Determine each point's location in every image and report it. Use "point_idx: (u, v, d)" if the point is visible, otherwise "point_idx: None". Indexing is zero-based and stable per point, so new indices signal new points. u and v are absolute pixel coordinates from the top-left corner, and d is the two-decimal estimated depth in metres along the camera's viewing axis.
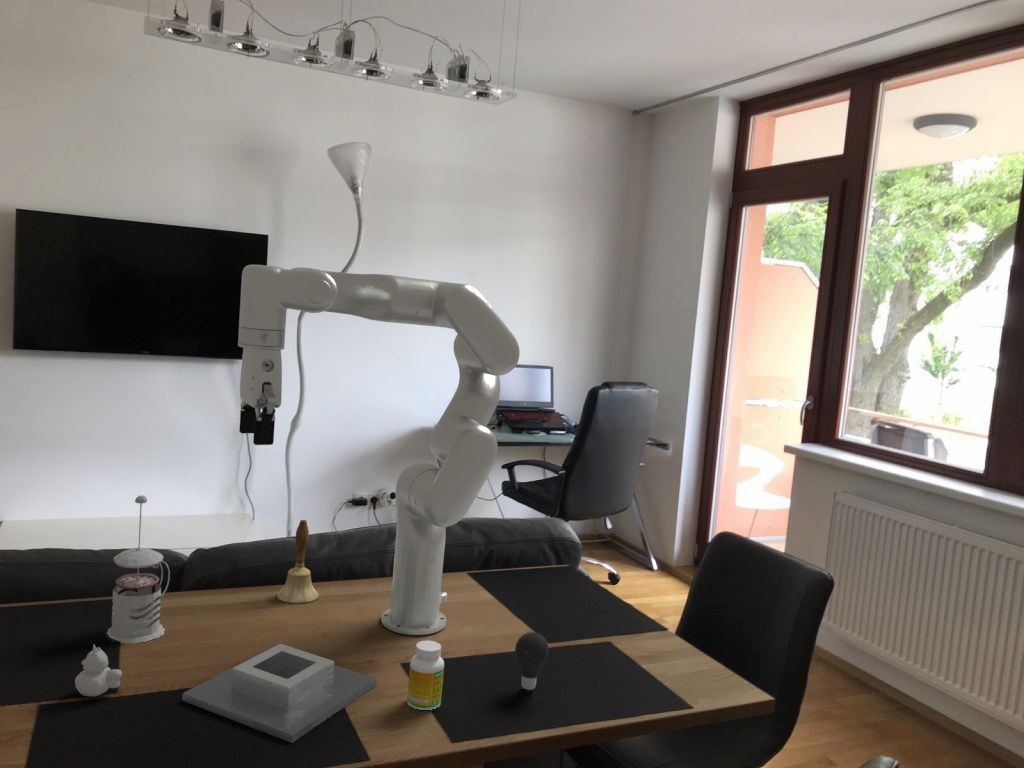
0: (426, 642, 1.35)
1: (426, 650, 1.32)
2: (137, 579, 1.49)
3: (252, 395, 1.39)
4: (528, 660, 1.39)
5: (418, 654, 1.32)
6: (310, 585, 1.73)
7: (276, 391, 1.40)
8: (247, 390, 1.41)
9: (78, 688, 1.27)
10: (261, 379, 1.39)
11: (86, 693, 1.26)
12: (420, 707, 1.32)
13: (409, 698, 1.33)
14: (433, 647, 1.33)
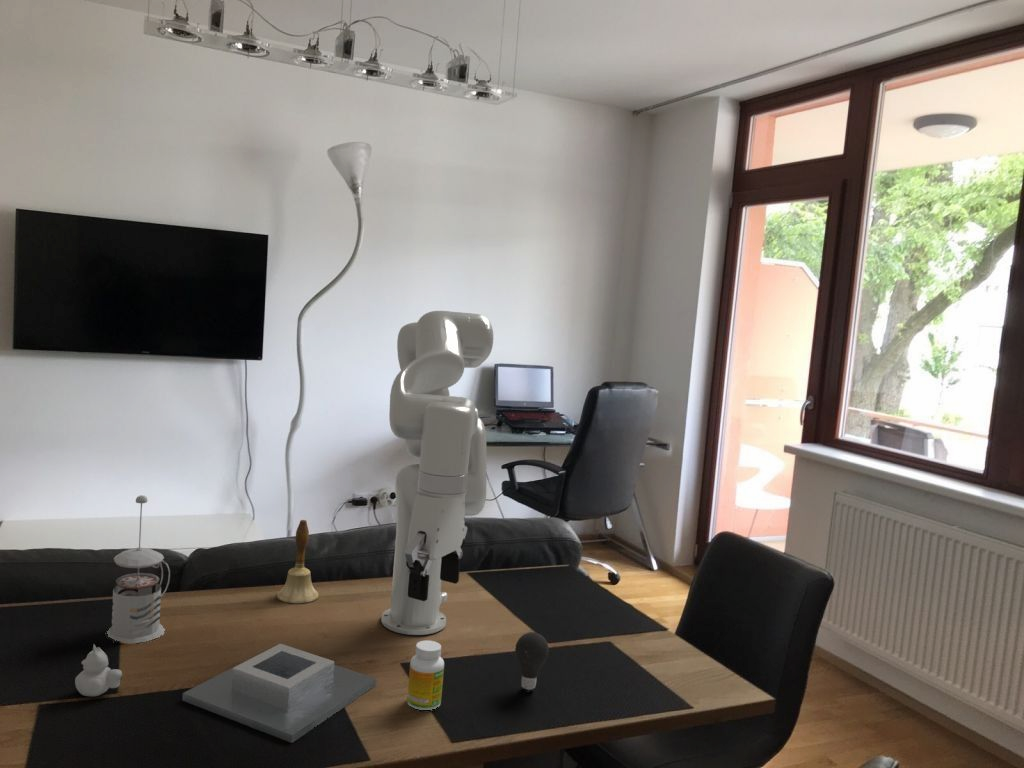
0: (426, 642, 1.35)
1: (426, 650, 1.32)
2: (137, 579, 1.49)
3: (462, 536, 1.34)
4: (528, 660, 1.39)
5: (418, 654, 1.32)
6: (310, 585, 1.73)
7: None
8: (456, 537, 1.32)
9: (78, 688, 1.27)
10: None
11: (86, 693, 1.26)
12: (420, 707, 1.32)
13: (409, 698, 1.33)
14: (433, 647, 1.33)
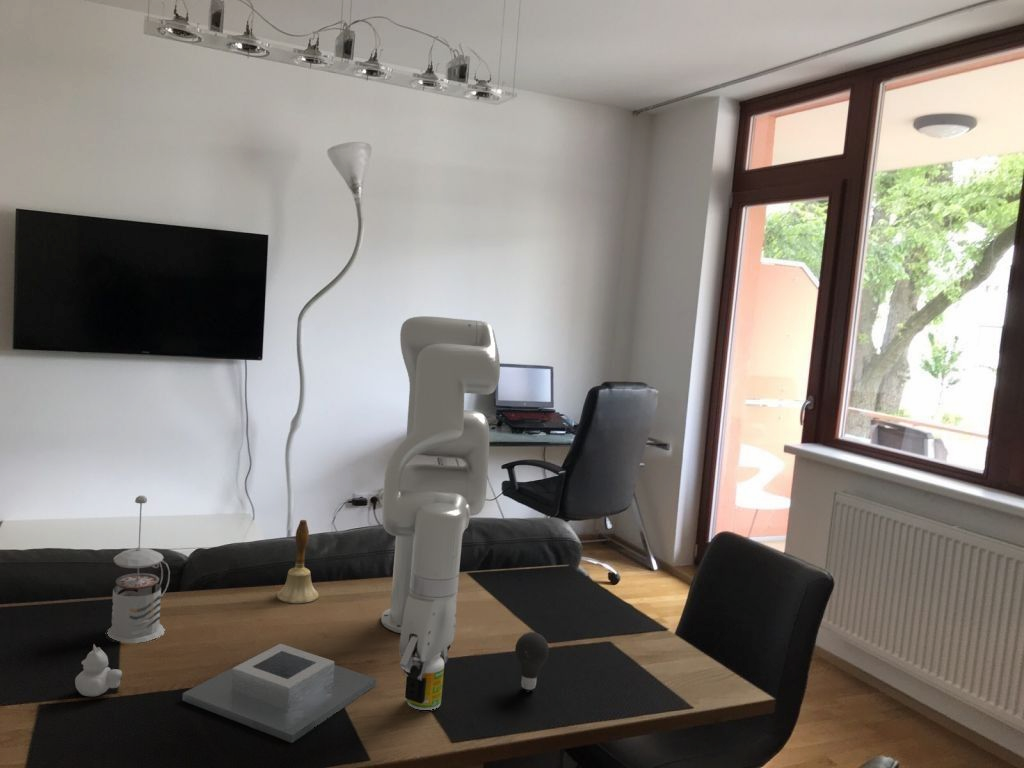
0: None
1: None
2: (137, 579, 1.49)
3: (454, 632, 1.36)
4: (528, 660, 1.39)
5: (418, 654, 1.32)
6: (310, 585, 1.73)
7: None
8: (447, 635, 1.34)
9: (78, 688, 1.27)
10: None
11: (86, 693, 1.26)
12: (420, 707, 1.32)
13: None
14: None
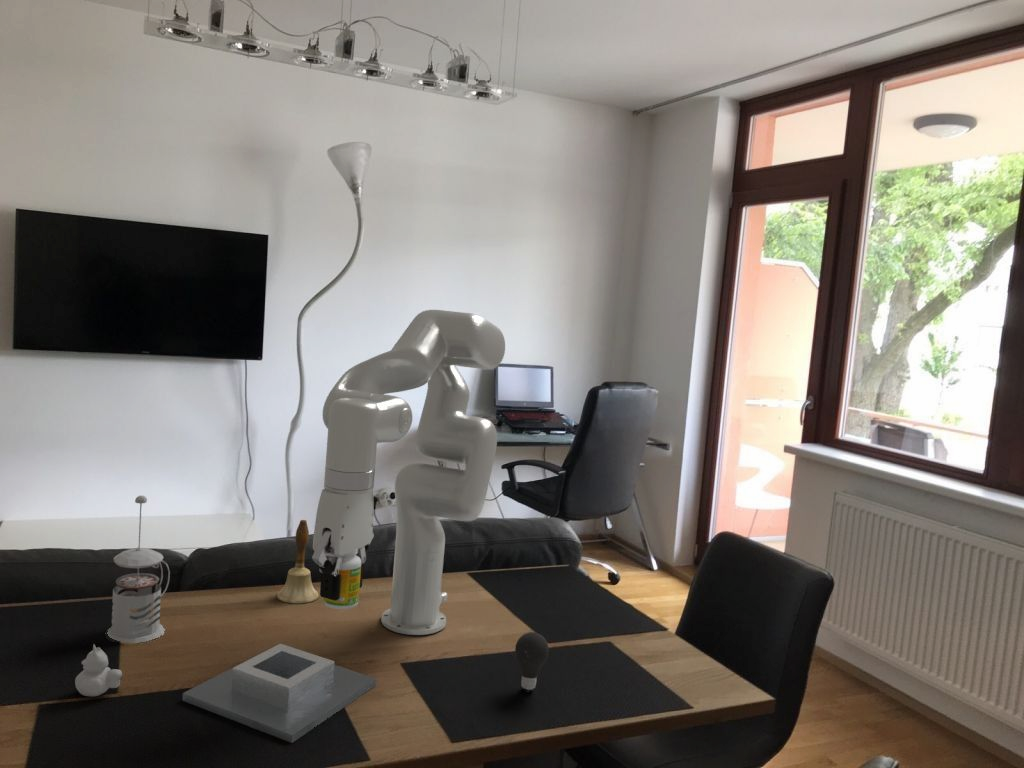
0: None
1: None
2: (137, 579, 1.49)
3: (371, 531, 1.34)
4: (528, 660, 1.39)
5: None
6: (310, 585, 1.73)
7: None
8: (364, 533, 1.32)
9: (78, 688, 1.27)
10: None
11: (86, 693, 1.26)
12: (336, 605, 1.30)
13: None
14: None
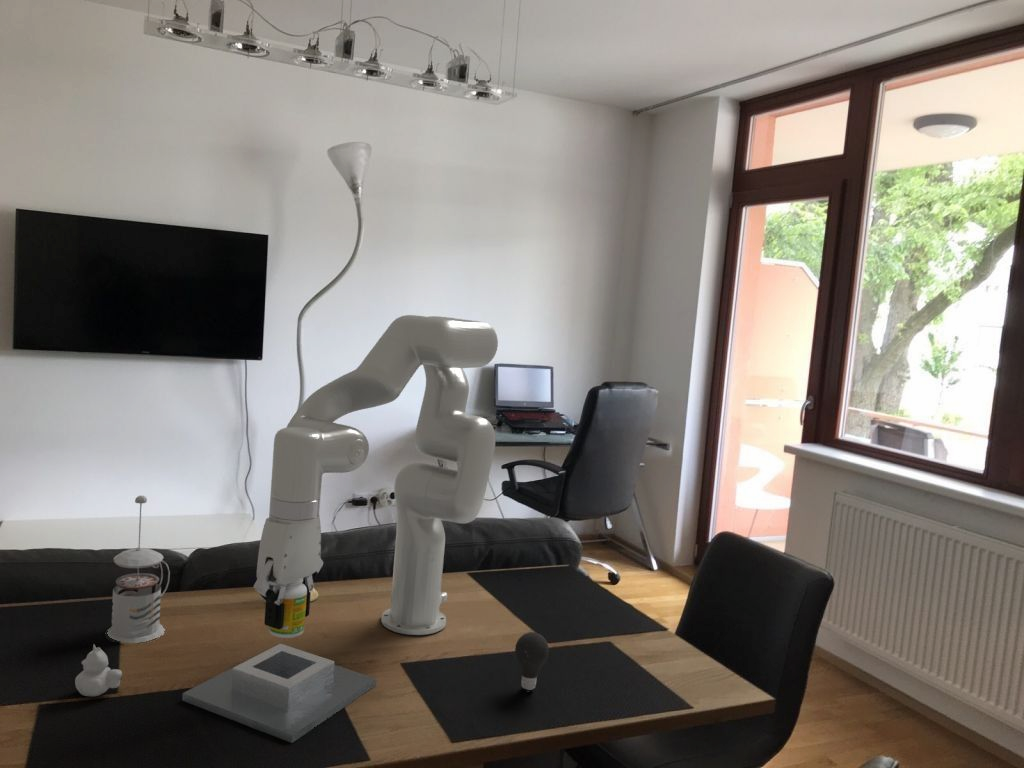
0: None
1: None
2: (137, 579, 1.49)
3: (318, 560, 1.34)
4: (528, 660, 1.39)
5: None
6: None
7: None
8: (310, 561, 1.32)
9: (78, 688, 1.27)
10: None
11: (86, 693, 1.26)
12: (280, 634, 1.30)
13: None
14: None
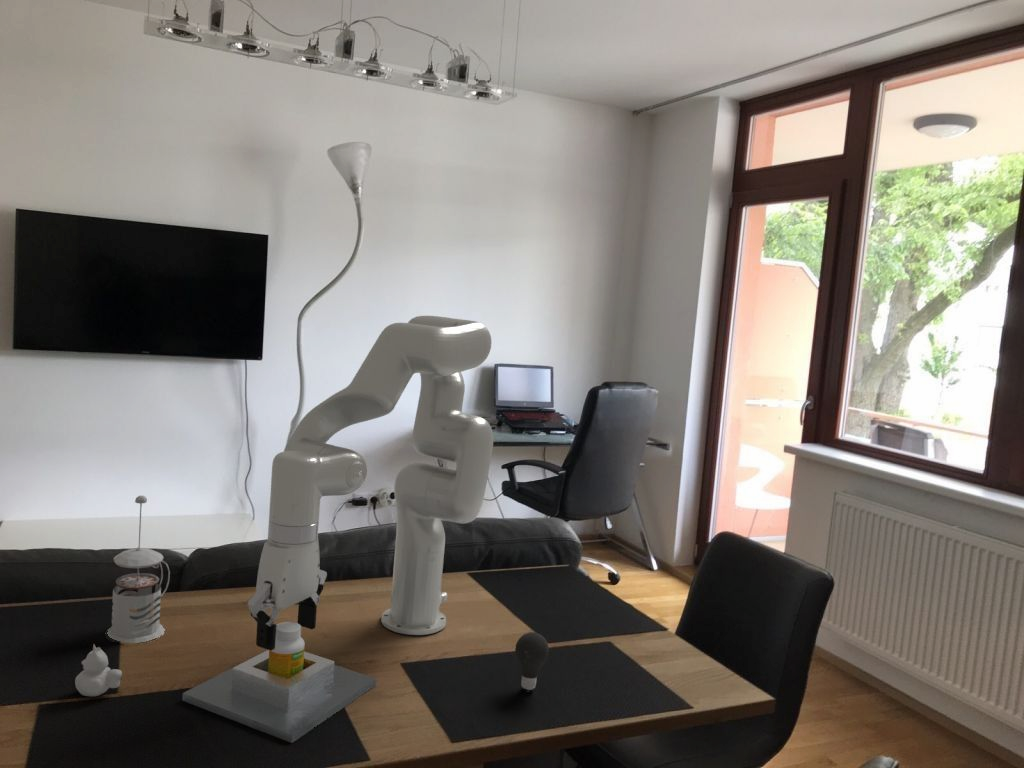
0: (287, 623, 1.34)
1: (284, 631, 1.31)
2: (137, 579, 1.49)
3: (317, 582, 1.35)
4: (528, 660, 1.39)
5: (276, 635, 1.32)
6: None
7: None
8: (309, 584, 1.33)
9: (78, 688, 1.27)
10: None
11: (86, 693, 1.26)
12: None
13: None
14: (292, 628, 1.32)
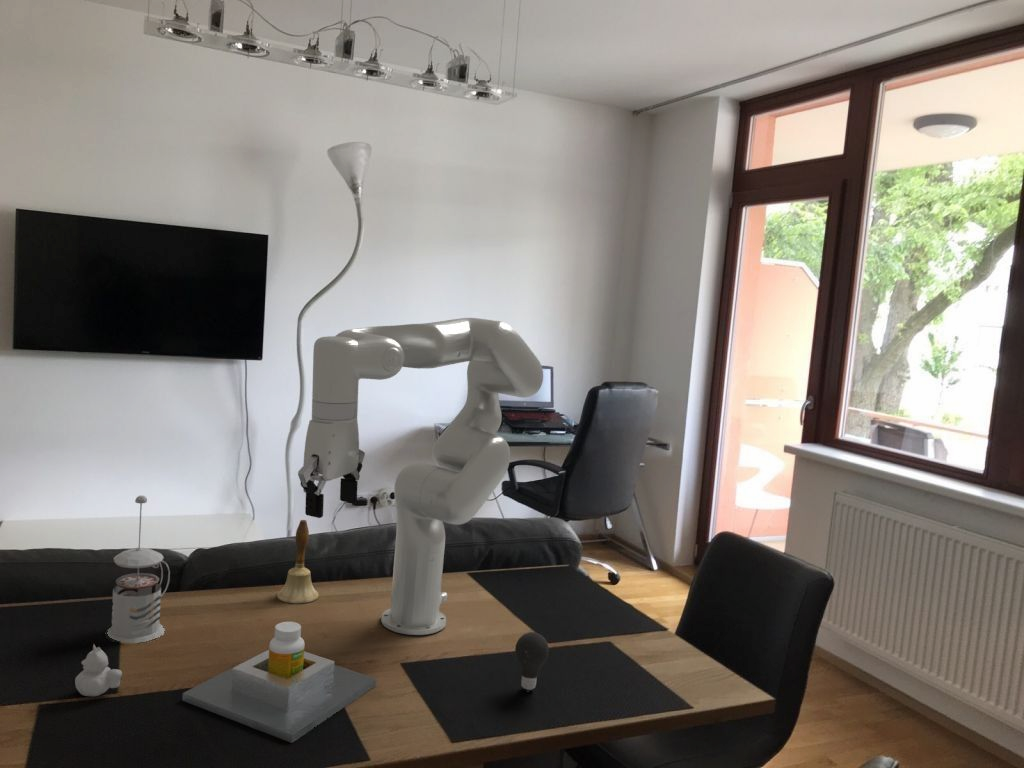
0: (287, 623, 1.34)
1: (284, 631, 1.31)
2: (137, 579, 1.49)
3: (357, 459, 1.46)
4: (528, 660, 1.39)
5: (276, 635, 1.32)
6: (310, 585, 1.73)
7: None
8: (350, 460, 1.44)
9: (78, 688, 1.27)
10: None
11: (86, 693, 1.26)
12: None
13: None
14: (292, 628, 1.32)
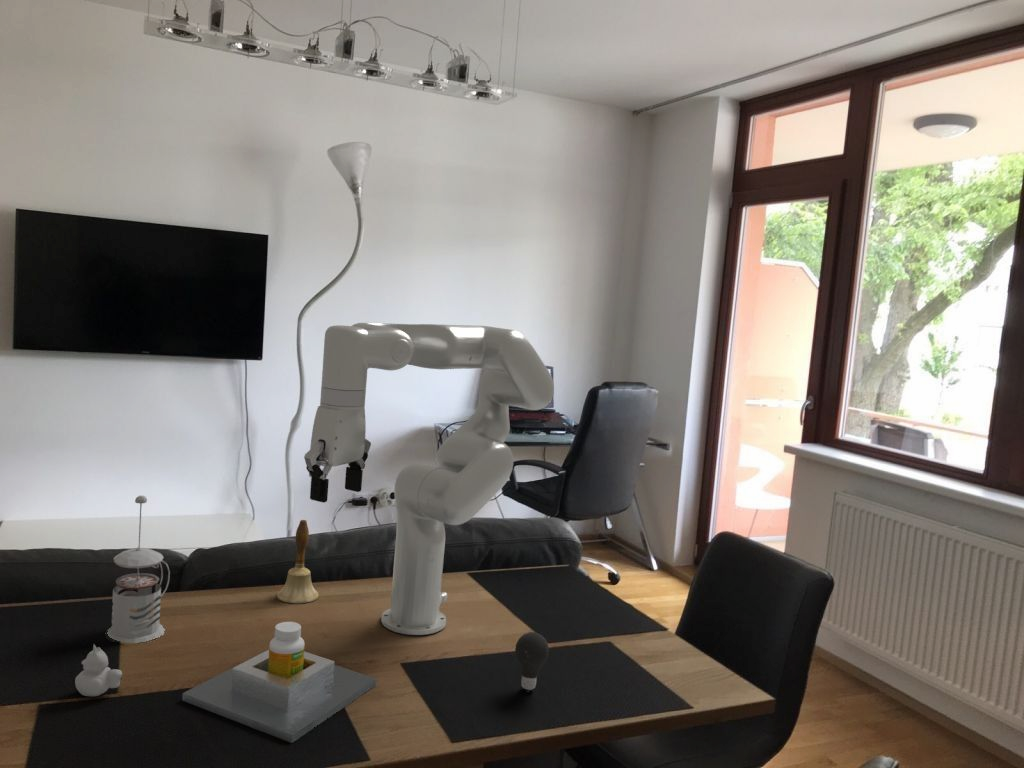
0: (287, 623, 1.34)
1: (284, 631, 1.31)
2: (137, 579, 1.49)
3: (363, 448, 1.49)
4: (528, 660, 1.39)
5: (276, 635, 1.32)
6: (310, 585, 1.73)
7: None
8: (356, 447, 1.46)
9: (78, 688, 1.27)
10: None
11: (86, 693, 1.26)
12: None
13: None
14: (292, 628, 1.32)
